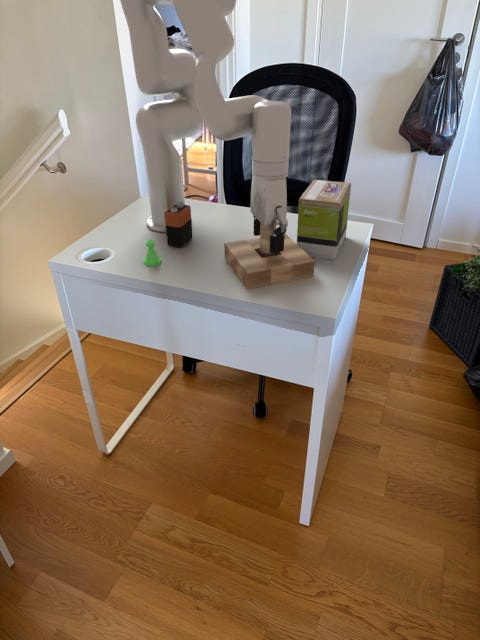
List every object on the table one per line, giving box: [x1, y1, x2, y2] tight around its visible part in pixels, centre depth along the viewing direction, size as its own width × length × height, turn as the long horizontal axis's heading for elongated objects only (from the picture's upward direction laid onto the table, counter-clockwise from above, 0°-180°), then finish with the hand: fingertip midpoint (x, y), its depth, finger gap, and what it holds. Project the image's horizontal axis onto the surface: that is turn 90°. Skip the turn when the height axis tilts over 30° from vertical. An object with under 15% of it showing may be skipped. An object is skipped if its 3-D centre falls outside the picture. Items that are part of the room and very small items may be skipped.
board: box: [223, 234, 316, 290], centre depth 108 cm, size 16×16×4 cm
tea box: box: [296, 179, 352, 261], centre depth 115 cm, size 15×10×15 cm, turn 159°
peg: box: [259, 220, 278, 258], centre depth 106 cm, size 4×4×13 cm
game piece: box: [142, 239, 162, 267], centre depth 110 cm, size 4×4×6 cm
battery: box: [164, 202, 193, 249], centre depth 118 cm, size 4×7×10 cm, turn 160°
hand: (268, 242), depth 106 cm, fingers open, 9 cm apart
